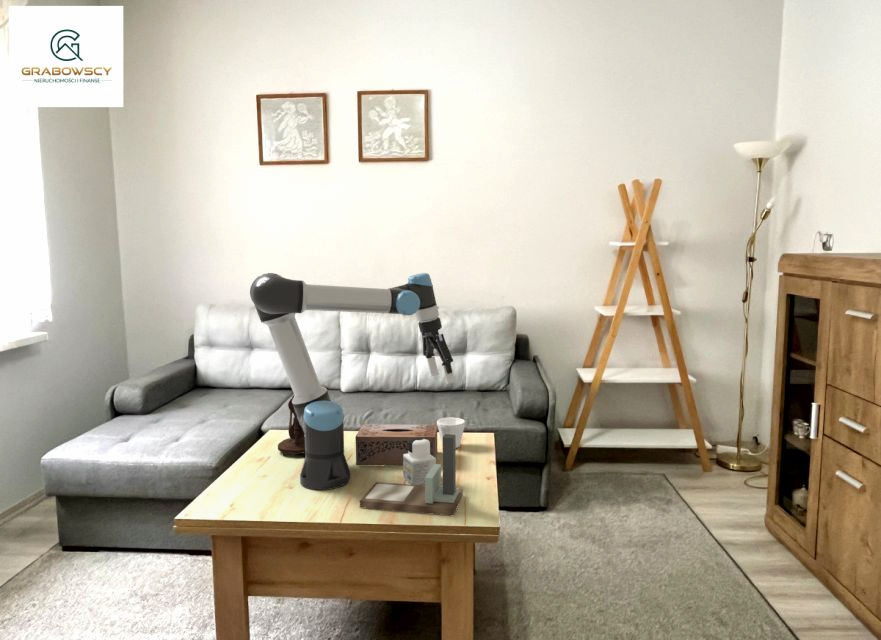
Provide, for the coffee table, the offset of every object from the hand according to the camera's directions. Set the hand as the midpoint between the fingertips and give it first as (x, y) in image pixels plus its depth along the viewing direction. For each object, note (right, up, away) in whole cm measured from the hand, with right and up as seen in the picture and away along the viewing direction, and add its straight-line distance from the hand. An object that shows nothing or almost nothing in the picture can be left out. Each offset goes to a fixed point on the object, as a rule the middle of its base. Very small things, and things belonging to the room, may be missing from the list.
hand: (442, 378), depth 217 cm
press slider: (0, -29, -42) cm, 50 cm away
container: (-7, -29, -24) cm, 38 cm away
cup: (+3, -25, +9) cm, 27 cm away
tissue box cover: (-15, -27, -4) cm, 31 cm away
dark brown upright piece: (-50, -26, +5) cm, 56 cm away
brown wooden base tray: (-9, -31, -40) cm, 51 cm away
